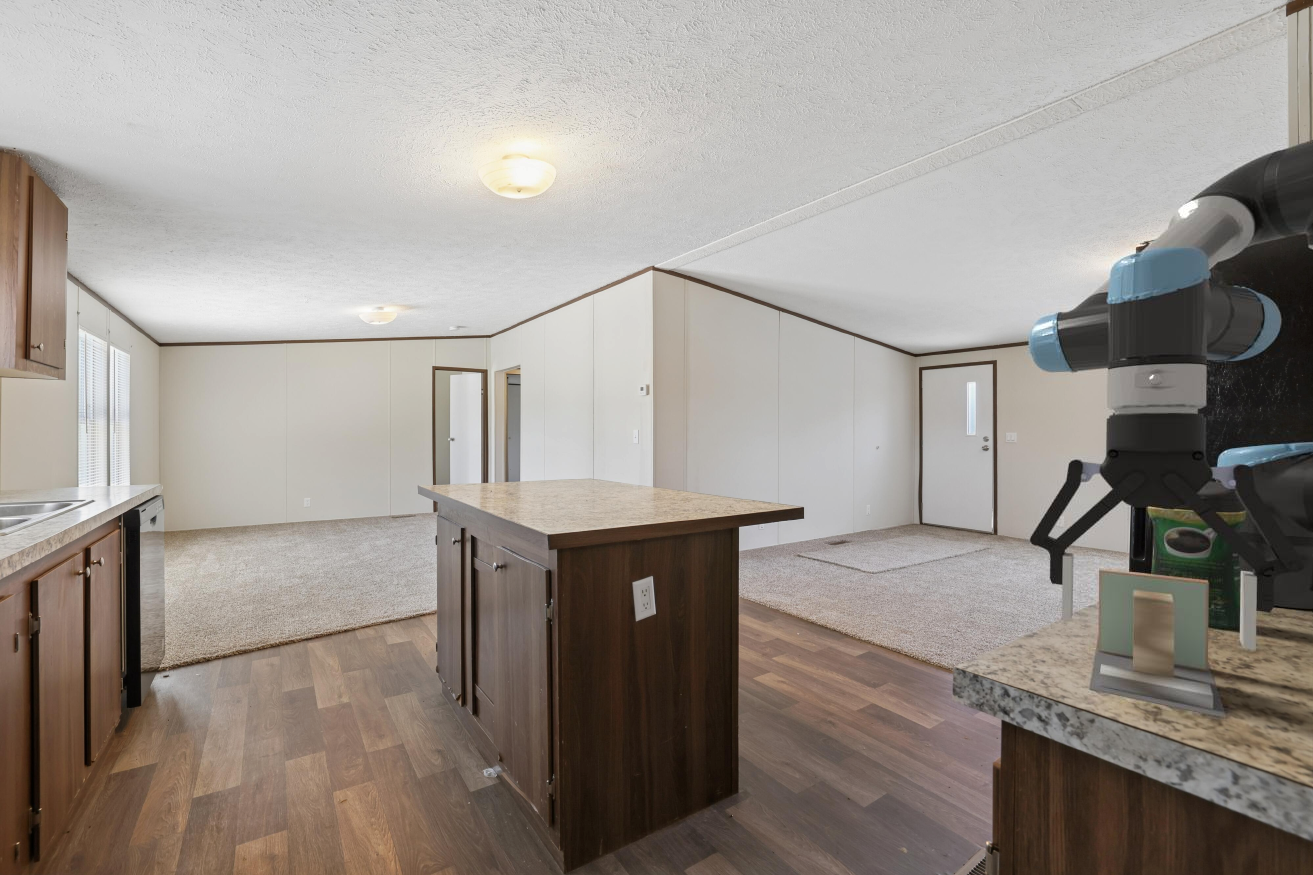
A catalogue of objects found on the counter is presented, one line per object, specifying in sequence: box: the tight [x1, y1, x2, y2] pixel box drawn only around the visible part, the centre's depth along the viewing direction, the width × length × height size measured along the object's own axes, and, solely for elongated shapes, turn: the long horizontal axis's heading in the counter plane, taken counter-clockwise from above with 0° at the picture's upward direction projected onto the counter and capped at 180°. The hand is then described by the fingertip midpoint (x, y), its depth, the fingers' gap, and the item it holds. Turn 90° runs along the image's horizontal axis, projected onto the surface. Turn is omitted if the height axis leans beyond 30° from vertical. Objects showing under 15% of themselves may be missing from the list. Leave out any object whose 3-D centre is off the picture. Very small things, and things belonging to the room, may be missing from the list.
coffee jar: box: [1146, 481, 1246, 631], centre depth 80 cm, size 10×8×19 cm
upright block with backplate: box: [1100, 590, 1213, 709], centre depth 59 cm, size 8×8×8 cm
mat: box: [1088, 634, 1228, 719], centre depth 64 cm, size 10×24×1 cm, turn 142°
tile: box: [1098, 568, 1209, 671], centre depth 65 cm, size 9×1×9 cm, turn 52°
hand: (1151, 630), depth 60 cm, fingers open, 13 cm apart
